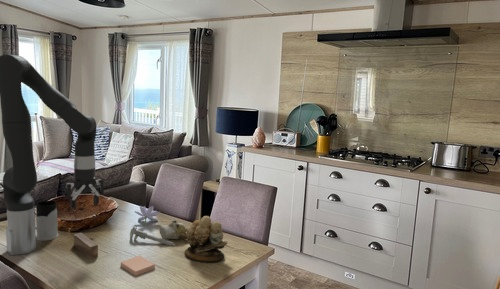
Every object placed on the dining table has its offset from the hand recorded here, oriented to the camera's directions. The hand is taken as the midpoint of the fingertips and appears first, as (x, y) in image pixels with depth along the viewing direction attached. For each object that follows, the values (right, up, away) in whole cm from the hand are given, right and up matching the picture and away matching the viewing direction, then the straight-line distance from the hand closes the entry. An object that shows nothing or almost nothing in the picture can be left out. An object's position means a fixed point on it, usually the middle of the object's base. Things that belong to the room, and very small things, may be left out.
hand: (84, 206), depth 147 cm
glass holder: (-25, -15, +14) cm, 33 cm away
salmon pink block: (+20, -20, -6) cm, 28 cm away
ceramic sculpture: (+32, -18, +19) cm, 41 cm away
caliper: (+23, -18, +14) cm, 33 cm away
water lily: (+15, -14, +37) cm, 42 cm away
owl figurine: (+47, -21, +3) cm, 52 cm away
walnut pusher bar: (-1, -18, +2) cm, 18 cm away
